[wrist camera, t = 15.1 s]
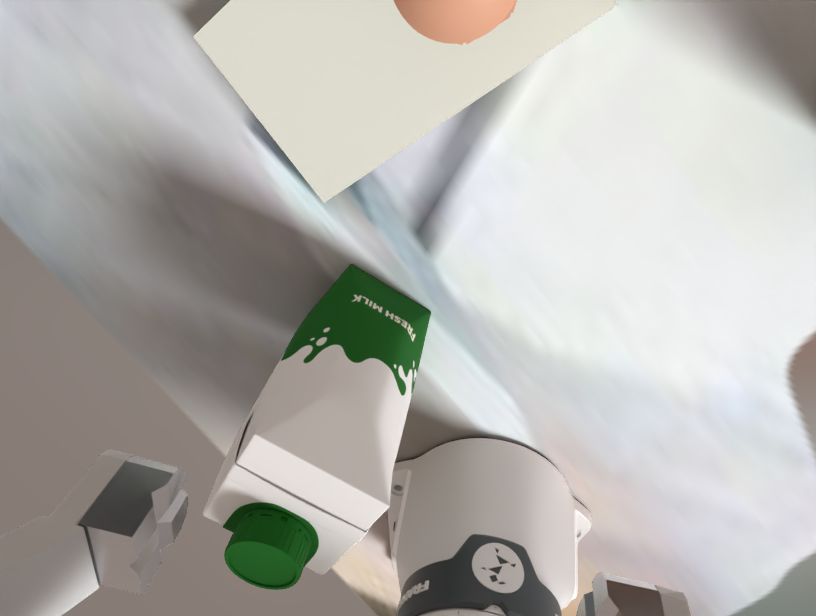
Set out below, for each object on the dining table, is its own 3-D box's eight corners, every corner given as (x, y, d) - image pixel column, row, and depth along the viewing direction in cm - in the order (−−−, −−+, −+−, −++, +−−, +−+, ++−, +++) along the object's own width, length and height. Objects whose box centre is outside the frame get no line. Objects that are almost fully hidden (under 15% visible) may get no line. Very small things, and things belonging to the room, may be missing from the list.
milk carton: (296, 329, 46) (168, 549, 30) (347, 245, 41) (228, 453, 25) (390, 382, 48) (317, 621, 31) (449, 308, 43) (401, 544, 26)
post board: (332, 191, 39) (293, 243, 33) (208, 31, 35) (134, 54, 28) (613, 0, 31) (636, 19, 24) (494, -242, 26) (483, -302, 20)
